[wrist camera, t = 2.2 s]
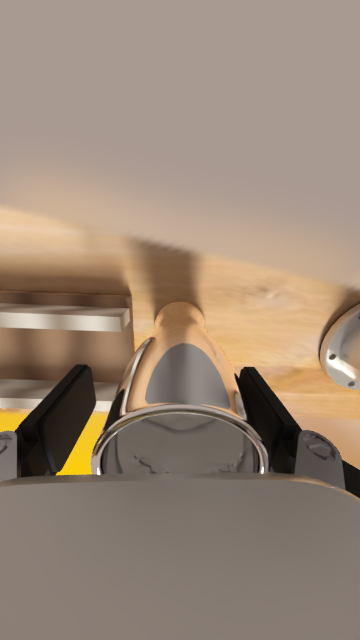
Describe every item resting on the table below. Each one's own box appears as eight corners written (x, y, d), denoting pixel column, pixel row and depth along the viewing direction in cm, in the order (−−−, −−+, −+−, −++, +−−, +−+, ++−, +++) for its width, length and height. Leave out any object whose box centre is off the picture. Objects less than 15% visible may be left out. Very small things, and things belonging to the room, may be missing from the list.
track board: (131, 295, 19) (118, 304, 15) (136, 393, 24) (128, 419, 20) (-84, 286, 19) (-155, 293, 15) (-36, 387, 23) (-80, 413, 19)
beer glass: (161, 356, 22) (128, 535, 8) (142, 306, 19) (44, 429, 5) (214, 342, 21) (284, 510, 7) (200, 289, 19) (264, 377, 5)
